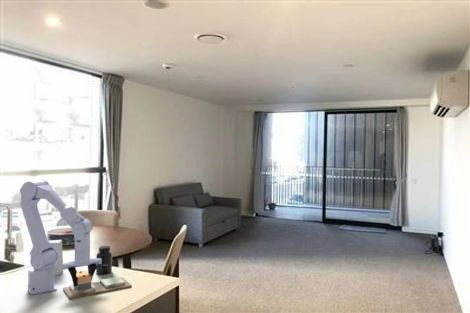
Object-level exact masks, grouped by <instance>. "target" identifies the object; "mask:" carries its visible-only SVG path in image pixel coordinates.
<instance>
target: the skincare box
mask: <svg viewBox="0 0 470 313" xmlns="http://www.w3.org/2000/svg"><path fill="white" fill-rule="evenodd" d="M48 242H50V243H51V244H53V247H54V249H55V250H56V251H57V253H58V259H57V261H56V262H55V265H54V276H55V275H61V274H62V273H63V272H64V270H63V269H62V264H64V258H63V253H64V252H63V239H54V240H51V239H50V240H48Z"/></svg>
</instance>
